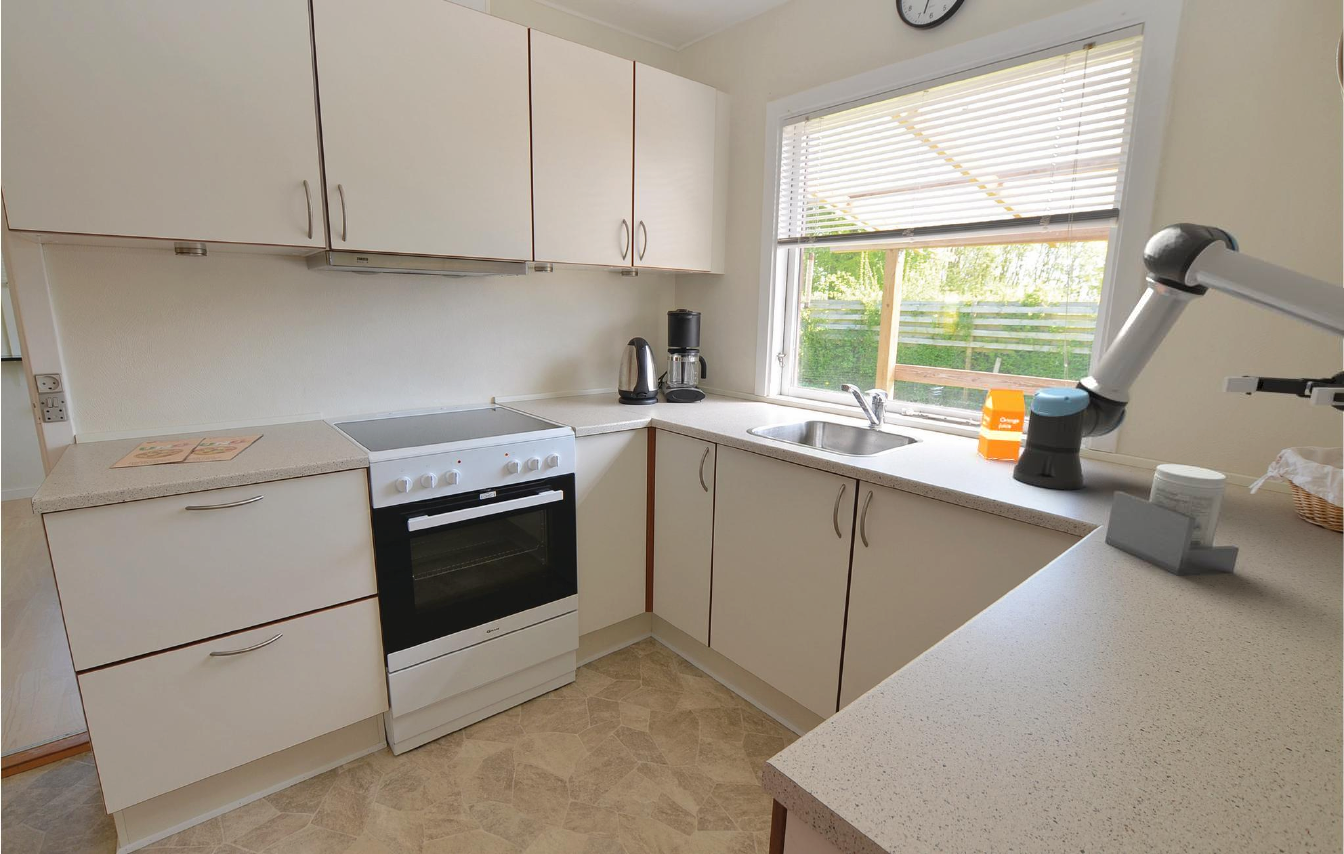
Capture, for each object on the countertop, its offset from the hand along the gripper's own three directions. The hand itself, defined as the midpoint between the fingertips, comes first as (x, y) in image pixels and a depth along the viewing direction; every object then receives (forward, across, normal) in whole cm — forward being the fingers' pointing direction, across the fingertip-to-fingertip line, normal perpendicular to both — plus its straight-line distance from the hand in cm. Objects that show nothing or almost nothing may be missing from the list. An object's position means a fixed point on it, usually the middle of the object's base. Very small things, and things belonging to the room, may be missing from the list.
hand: (1266, 390), depth 103 cm
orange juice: (-5, +69, -30) cm, 76 cm away
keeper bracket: (+13, 0, -30) cm, 33 cm away
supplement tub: (+12, 0, -29) cm, 31 cm away
